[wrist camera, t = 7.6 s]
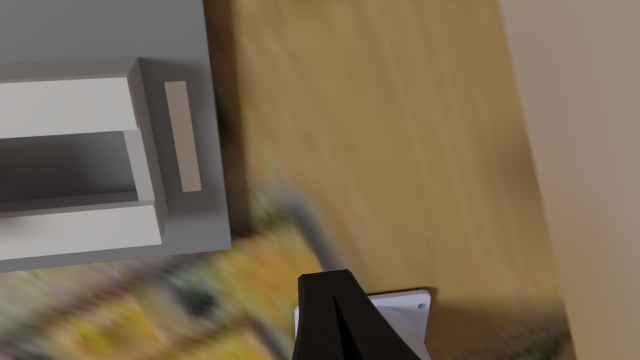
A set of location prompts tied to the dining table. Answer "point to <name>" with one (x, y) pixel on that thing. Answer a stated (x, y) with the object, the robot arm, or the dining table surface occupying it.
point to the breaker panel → (107, 133)
